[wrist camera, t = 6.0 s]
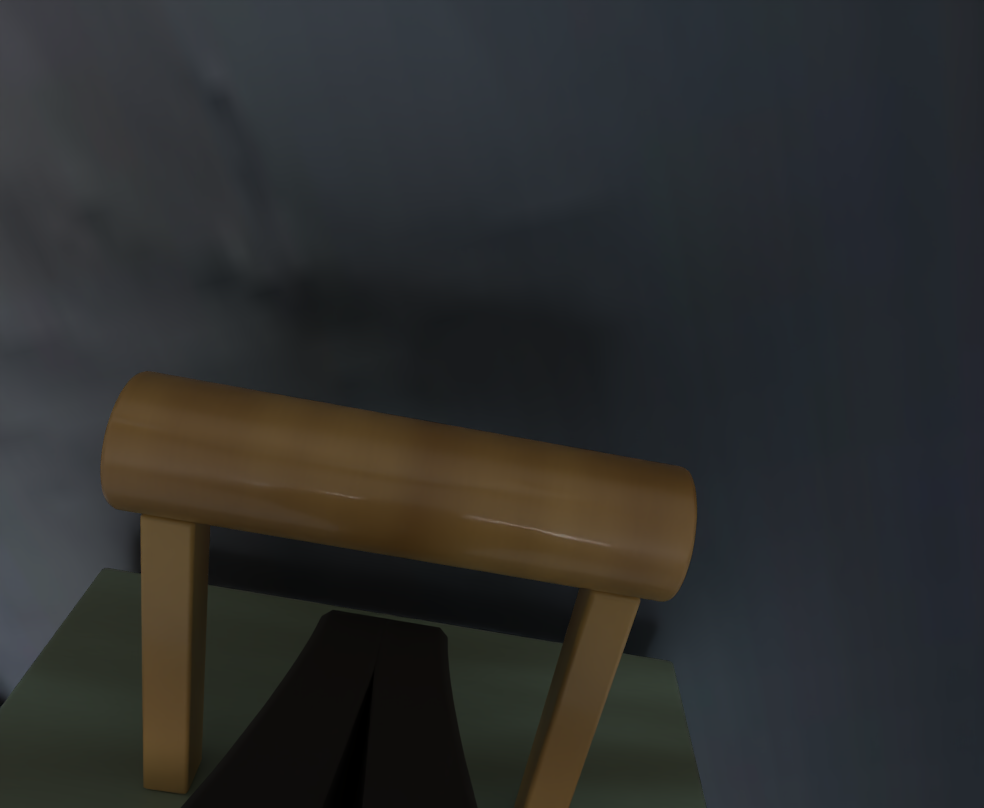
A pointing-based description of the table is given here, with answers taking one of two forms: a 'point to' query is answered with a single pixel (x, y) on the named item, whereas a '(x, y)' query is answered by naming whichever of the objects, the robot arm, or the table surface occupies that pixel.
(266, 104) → the table surface
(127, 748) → the drawer
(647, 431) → the table surface
